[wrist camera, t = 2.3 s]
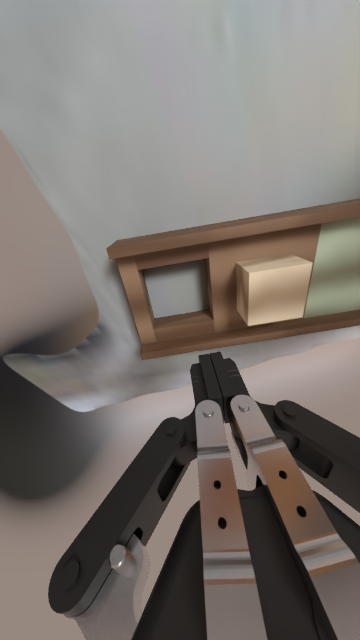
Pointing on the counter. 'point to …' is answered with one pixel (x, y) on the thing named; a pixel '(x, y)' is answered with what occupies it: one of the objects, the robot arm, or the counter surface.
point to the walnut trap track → (221, 257)
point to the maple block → (272, 288)
